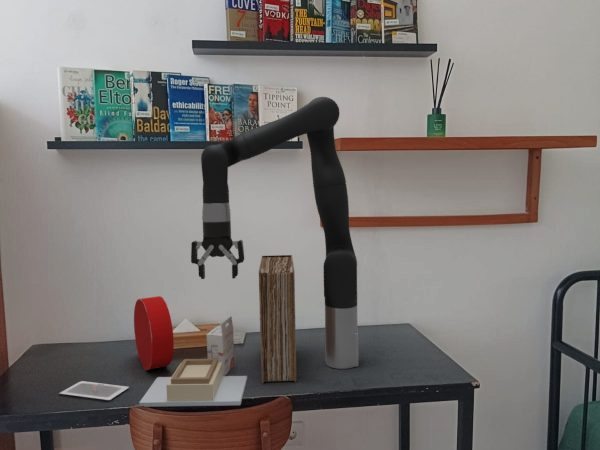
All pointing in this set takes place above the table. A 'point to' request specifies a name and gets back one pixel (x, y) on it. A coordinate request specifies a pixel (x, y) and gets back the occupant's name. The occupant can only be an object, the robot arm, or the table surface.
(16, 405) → the table surface
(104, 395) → the touchpad
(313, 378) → the table surface
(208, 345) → the ink cartridge box
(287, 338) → the book
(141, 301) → the toy clock
